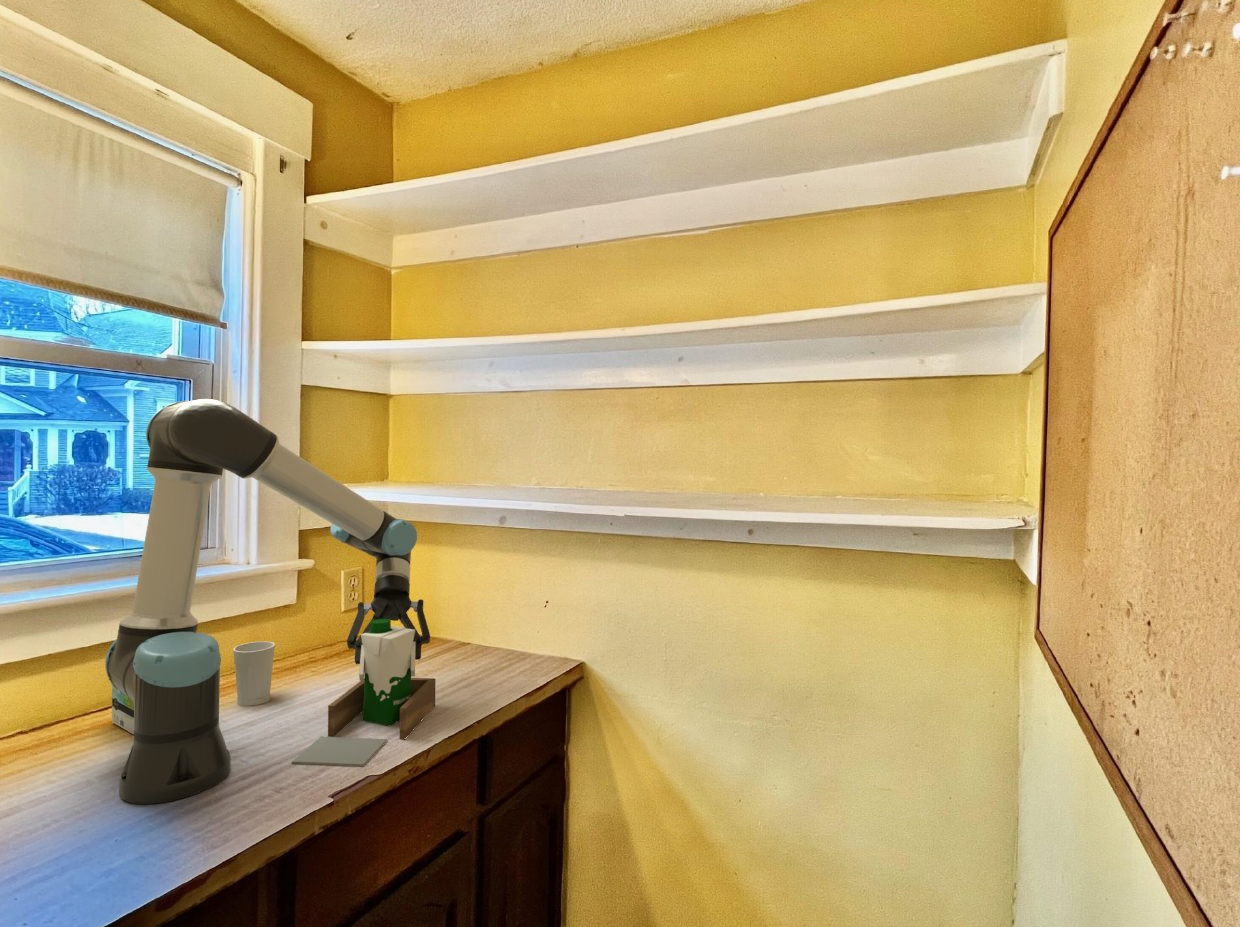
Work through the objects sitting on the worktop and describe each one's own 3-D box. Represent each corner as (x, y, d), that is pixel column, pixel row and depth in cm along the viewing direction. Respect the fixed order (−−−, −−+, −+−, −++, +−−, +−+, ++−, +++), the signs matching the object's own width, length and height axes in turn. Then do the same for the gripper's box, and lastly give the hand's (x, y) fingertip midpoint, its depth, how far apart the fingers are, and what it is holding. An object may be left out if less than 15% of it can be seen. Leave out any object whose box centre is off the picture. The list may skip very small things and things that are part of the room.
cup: (277, 692, 144) (278, 640, 144) (269, 705, 137) (270, 650, 137) (238, 695, 142) (238, 642, 142) (228, 709, 134) (228, 653, 134)
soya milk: (384, 706, 137) (386, 614, 137) (419, 712, 134) (420, 619, 134) (355, 721, 129) (356, 624, 129) (390, 729, 126) (392, 629, 126)
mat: (291, 763, 111) (291, 761, 111) (321, 738, 121) (321, 736, 121) (363, 766, 110) (363, 764, 110) (387, 741, 120) (387, 739, 120)
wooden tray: (327, 736, 122) (328, 705, 122) (366, 703, 139) (366, 676, 139) (405, 739, 121) (405, 708, 121) (435, 705, 138) (435, 678, 138)
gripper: (441, 589, 149) (442, 679, 134) (341, 594, 143) (330, 688, 128) (442, 571, 144) (443, 662, 129) (338, 575, 138) (327, 671, 123)
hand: (387, 675), depth 128 cm, fingers closed on soya milk, 9 cm apart
